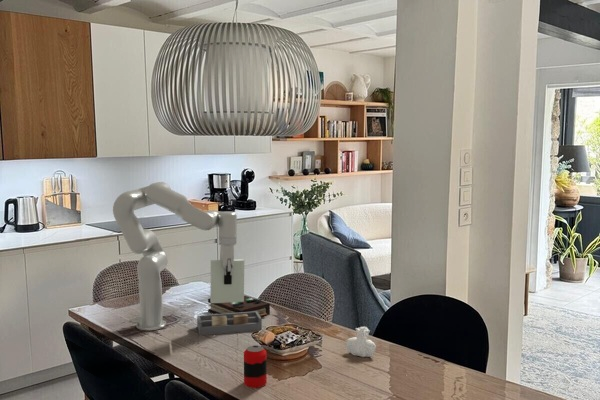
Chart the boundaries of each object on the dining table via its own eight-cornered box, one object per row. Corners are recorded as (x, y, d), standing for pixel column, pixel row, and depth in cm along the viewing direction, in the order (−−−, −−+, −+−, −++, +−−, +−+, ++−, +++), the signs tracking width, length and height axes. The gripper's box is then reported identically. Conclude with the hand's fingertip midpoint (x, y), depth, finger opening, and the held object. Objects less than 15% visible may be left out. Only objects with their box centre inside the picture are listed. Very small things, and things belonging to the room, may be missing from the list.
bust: (376, 362, 213) (383, 334, 218) (370, 355, 207) (377, 326, 212) (346, 356, 218) (354, 329, 223) (340, 349, 213) (348, 321, 218)
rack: (199, 337, 232) (199, 323, 232) (197, 329, 242) (197, 315, 242) (261, 332, 239) (261, 318, 238) (257, 324, 249) (256, 311, 249)
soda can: (266, 378, 192) (266, 344, 191) (266, 388, 185) (266, 352, 184) (244, 378, 192) (244, 344, 191) (243, 388, 185) (242, 352, 183)
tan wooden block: (234, 330, 237) (234, 317, 237) (233, 328, 240) (232, 314, 240) (248, 329, 239) (248, 315, 238) (247, 327, 242) (246, 313, 241)
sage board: (211, 303, 239) (211, 261, 237) (210, 301, 241) (210, 260, 239) (243, 301, 243) (244, 260, 241) (242, 299, 245) (243, 259, 243)
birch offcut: (212, 332, 235) (212, 318, 234) (211, 330, 238) (211, 316, 237) (226, 331, 237) (226, 317, 236) (226, 329, 240) (225, 315, 239)
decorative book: (235, 289, 281) (275, 302, 259) (235, 304, 281) (275, 318, 260) (202, 296, 267) (241, 310, 246) (203, 312, 268) (241, 327, 246)
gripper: (216, 237, 246) (216, 279, 248) (221, 244, 230) (220, 288, 232) (233, 237, 248) (233, 278, 250) (239, 244, 232) (238, 287, 234)
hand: (227, 282), depth 241 cm, fingers closed on sage board, 2 cm apart
